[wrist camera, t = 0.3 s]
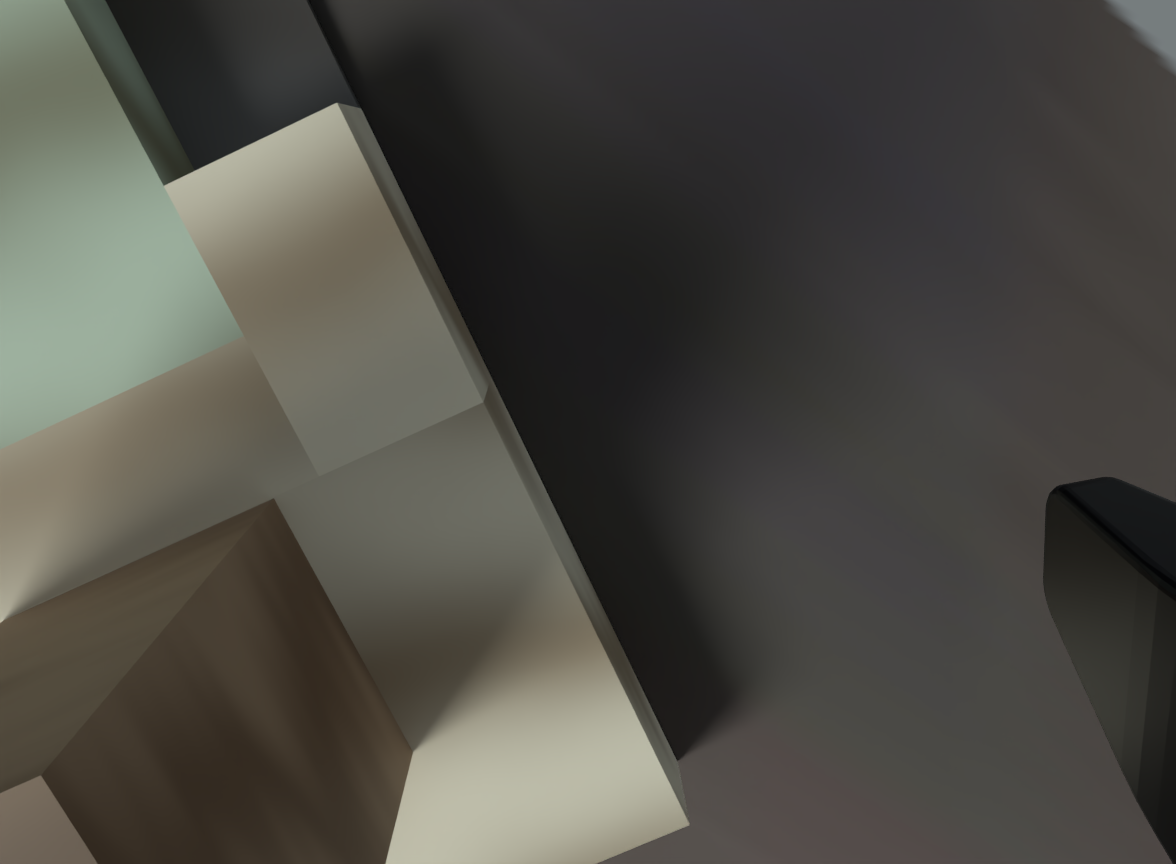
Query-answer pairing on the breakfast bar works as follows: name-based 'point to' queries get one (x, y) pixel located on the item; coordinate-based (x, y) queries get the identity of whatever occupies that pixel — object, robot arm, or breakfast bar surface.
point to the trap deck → (295, 407)
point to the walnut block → (196, 715)
